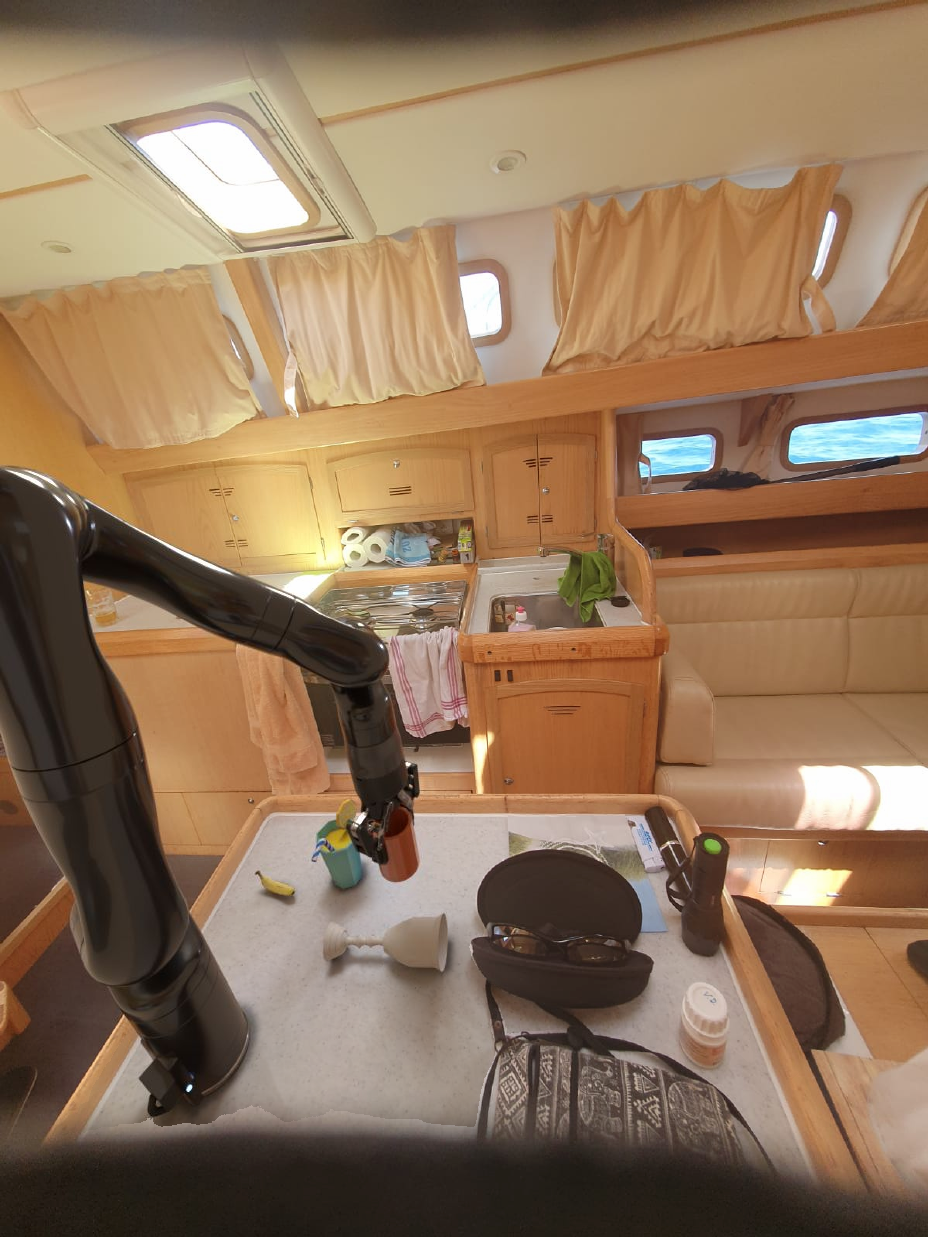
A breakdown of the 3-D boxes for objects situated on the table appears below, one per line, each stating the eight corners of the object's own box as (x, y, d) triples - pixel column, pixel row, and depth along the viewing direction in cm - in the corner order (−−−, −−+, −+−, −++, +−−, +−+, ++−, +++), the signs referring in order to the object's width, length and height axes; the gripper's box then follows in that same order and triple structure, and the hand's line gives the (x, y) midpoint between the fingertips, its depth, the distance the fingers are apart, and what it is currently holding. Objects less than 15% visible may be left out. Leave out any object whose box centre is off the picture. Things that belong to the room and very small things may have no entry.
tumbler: (404, 889, 66) (395, 846, 62) (372, 873, 69) (361, 831, 65) (427, 854, 71) (419, 813, 67) (395, 841, 74) (386, 800, 70)
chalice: (329, 978, 69) (444, 980, 66) (315, 959, 65) (436, 960, 63) (343, 925, 75) (449, 925, 72) (331, 905, 71) (441, 904, 69)
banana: (258, 890, 82) (252, 875, 80) (265, 881, 83) (259, 866, 82) (293, 903, 79) (287, 888, 77) (300, 894, 80) (294, 879, 79)
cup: (354, 920, 75) (335, 858, 69) (310, 917, 76) (288, 856, 70) (378, 847, 88) (364, 789, 82) (340, 845, 89) (324, 788, 83)
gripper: (385, 720, 69) (402, 801, 75) (318, 785, 57) (344, 874, 64) (427, 731, 65) (440, 815, 72) (363, 803, 54) (386, 894, 61)
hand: (395, 842), depth 68 cm, fingers closed on tumbler, 6 cm apart
